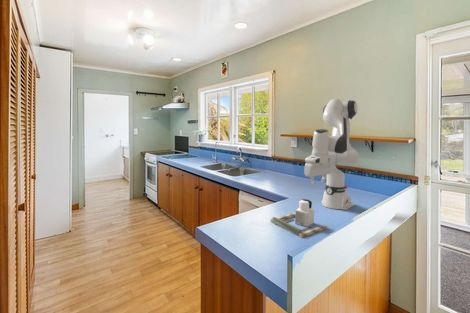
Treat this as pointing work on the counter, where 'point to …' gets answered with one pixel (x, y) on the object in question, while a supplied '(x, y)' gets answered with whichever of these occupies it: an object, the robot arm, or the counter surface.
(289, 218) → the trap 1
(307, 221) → the container
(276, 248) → the counter surface
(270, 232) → the counter surface
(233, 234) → the counter surface
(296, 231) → the tan flat bar frame
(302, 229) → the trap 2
